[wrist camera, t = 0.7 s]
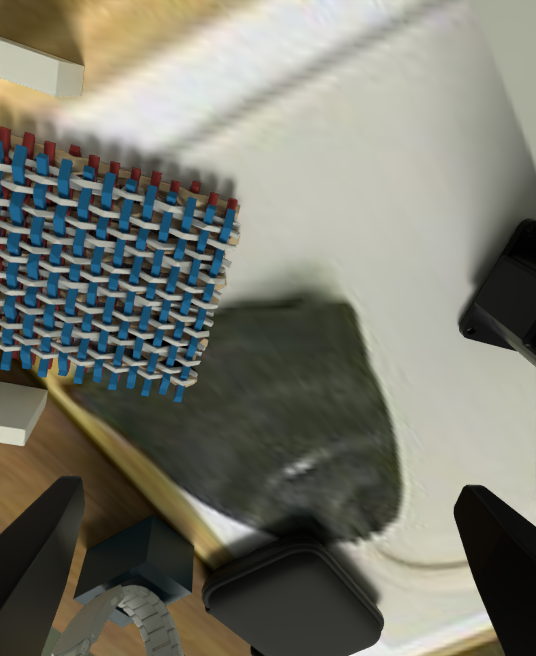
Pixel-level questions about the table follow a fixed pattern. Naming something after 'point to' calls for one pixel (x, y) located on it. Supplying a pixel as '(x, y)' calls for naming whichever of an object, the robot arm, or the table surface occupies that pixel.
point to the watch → (132, 588)
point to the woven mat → (105, 265)
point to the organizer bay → (57, 80)
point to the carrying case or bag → (293, 601)
